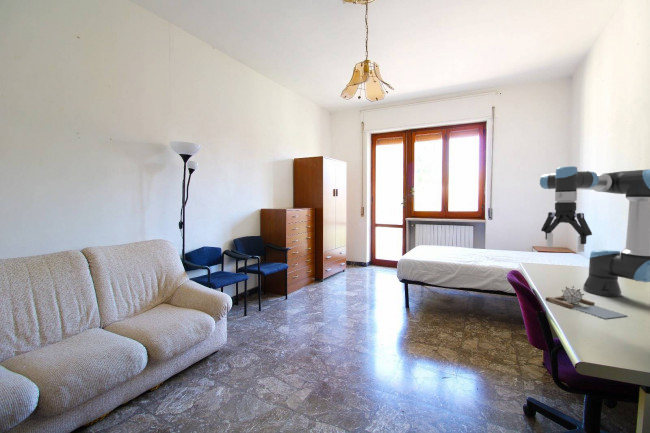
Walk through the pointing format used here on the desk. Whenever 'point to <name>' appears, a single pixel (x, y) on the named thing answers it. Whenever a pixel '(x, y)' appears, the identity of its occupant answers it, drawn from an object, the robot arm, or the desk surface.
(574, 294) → the game die
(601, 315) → the mat
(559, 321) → the desk surface
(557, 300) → the open frame
